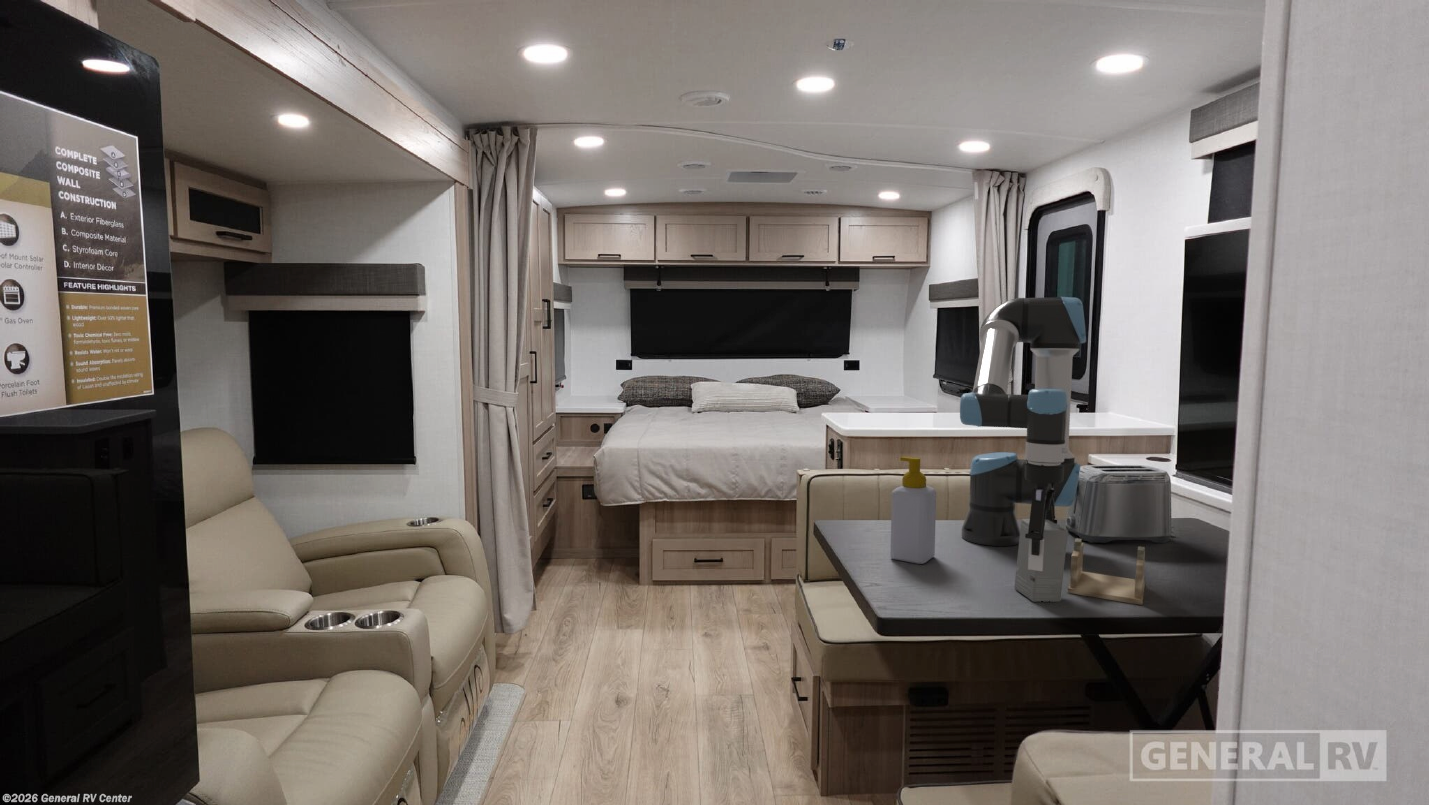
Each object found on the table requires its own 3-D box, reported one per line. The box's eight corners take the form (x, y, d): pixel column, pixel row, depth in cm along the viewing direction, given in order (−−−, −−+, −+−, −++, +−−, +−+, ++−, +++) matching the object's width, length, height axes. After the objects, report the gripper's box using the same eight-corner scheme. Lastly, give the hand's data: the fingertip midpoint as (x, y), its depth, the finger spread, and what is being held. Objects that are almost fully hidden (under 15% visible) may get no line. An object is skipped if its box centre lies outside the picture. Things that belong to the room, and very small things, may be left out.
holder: (1067, 592, 162) (1069, 547, 161) (1075, 574, 174) (1077, 532, 173) (1142, 605, 155) (1144, 557, 154) (1144, 585, 167) (1147, 541, 166)
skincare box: (1013, 589, 164) (1016, 518, 163) (1044, 588, 165) (1047, 517, 163) (1033, 603, 156) (1036, 528, 154) (1066, 602, 157) (1069, 527, 155)
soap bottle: (901, 550, 193) (904, 454, 191) (936, 556, 188) (939, 457, 185) (888, 559, 186) (890, 459, 183) (923, 566, 181) (926, 462, 178)
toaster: (1053, 528, 214) (1056, 462, 212) (1159, 529, 213) (1163, 463, 211) (1080, 545, 197) (1083, 474, 196) (1195, 546, 196) (1199, 474, 194)
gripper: (1055, 473, 145) (1051, 580, 147) (1071, 456, 166) (1067, 550, 168) (1014, 469, 149) (1010, 574, 151) (1035, 453, 170) (1031, 545, 172)
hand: (1040, 561), depth 159 cm, fingers open, 13 cm apart
